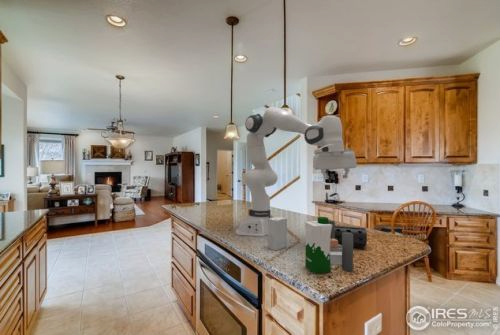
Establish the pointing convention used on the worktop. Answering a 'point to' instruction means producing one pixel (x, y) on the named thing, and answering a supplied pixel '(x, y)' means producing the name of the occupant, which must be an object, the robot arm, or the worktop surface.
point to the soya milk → (318, 245)
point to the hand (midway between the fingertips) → (336, 178)
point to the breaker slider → (334, 243)
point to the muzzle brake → (358, 235)
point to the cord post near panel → (332, 229)
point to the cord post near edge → (347, 251)
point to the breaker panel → (336, 256)
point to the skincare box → (277, 233)
